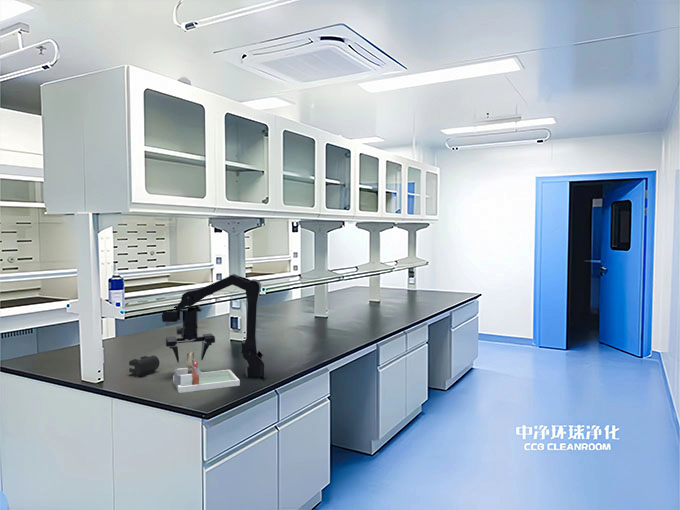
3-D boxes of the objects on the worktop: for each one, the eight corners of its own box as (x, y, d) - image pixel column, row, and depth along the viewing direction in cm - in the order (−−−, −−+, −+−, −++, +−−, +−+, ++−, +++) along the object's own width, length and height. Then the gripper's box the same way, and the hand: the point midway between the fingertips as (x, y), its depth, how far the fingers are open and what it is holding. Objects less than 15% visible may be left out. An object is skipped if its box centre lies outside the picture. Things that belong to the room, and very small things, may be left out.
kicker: (193, 373, 197) (193, 351, 196) (203, 389, 177) (203, 364, 177) (185, 374, 195) (185, 352, 195) (195, 390, 176) (195, 365, 176)
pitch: (229, 376, 198) (229, 361, 198) (239, 388, 184) (239, 371, 183) (173, 383, 188) (172, 367, 188) (178, 395, 174) (178, 378, 174)
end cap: (141, 378, 195) (141, 361, 194) (128, 376, 197) (128, 359, 197) (159, 372, 204) (159, 356, 204) (146, 369, 207) (146, 354, 206)
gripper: (209, 317, 205) (209, 354, 206) (162, 320, 197) (162, 358, 197) (215, 322, 195) (215, 360, 196) (166, 325, 187) (166, 365, 187)
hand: (190, 361), depth 194 cm, fingers open, 9 cm apart
